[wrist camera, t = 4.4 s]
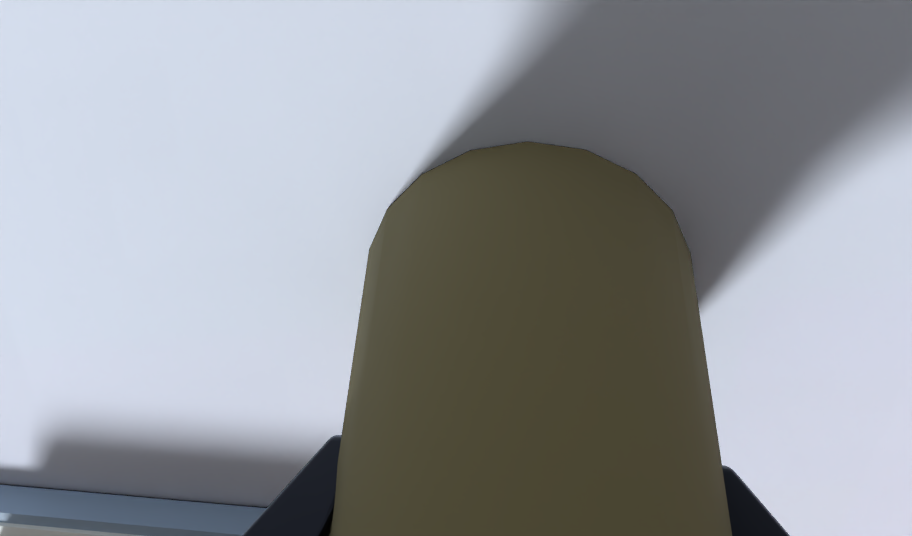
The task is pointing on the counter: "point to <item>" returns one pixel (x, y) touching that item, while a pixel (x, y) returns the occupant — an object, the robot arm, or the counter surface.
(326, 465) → the robot arm
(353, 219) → the counter surface
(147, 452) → the counter surface
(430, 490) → the olive pawn
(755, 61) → the counter surface
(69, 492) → the board
